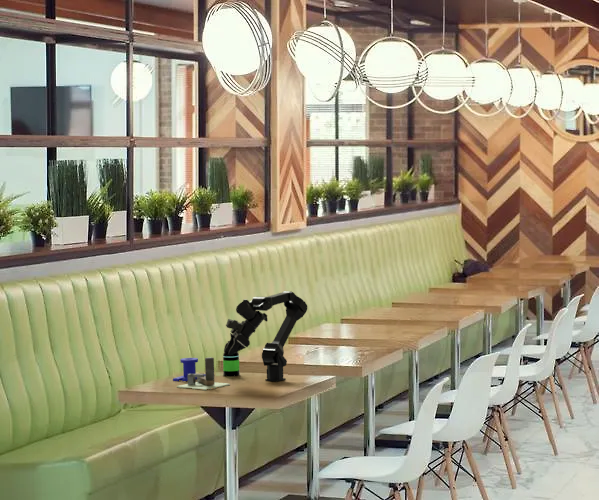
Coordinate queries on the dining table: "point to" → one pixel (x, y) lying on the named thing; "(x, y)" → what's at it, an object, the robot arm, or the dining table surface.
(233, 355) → the bottle
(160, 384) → the dining table surface
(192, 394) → the dining table surface
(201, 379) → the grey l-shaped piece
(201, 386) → the plate
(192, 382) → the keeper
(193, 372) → the mount
